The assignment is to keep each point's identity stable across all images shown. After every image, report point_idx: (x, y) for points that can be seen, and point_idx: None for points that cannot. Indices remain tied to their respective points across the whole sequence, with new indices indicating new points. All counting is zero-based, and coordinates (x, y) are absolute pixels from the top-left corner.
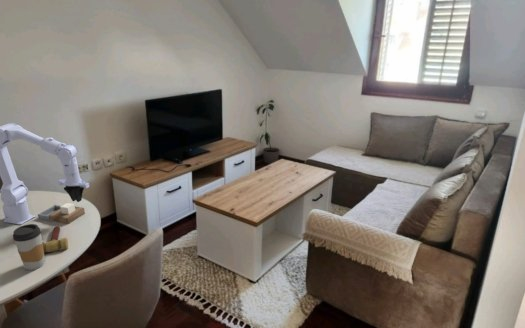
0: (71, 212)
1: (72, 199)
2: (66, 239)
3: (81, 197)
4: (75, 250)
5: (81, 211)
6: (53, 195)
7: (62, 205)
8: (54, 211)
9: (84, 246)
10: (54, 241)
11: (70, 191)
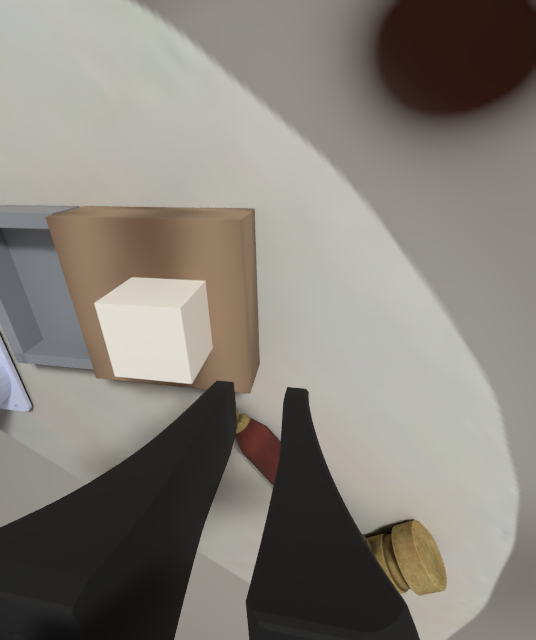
0: (209, 323)
1: (225, 454)
2: (434, 573)
3: (311, 420)
4: (480, 544)
5: (247, 252)
6: None
7: (108, 353)
8: (26, 254)
9: (512, 523)
10: None
11: (178, 590)
